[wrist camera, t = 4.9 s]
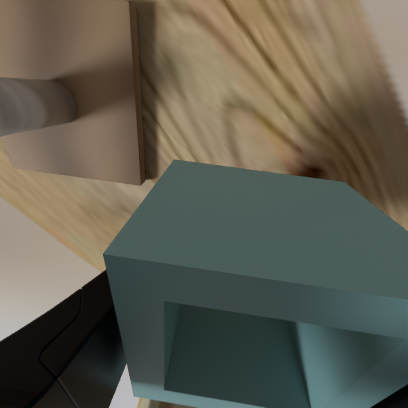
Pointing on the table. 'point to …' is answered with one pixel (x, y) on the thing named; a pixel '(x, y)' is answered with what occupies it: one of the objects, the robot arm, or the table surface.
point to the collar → (260, 292)
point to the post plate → (72, 88)
